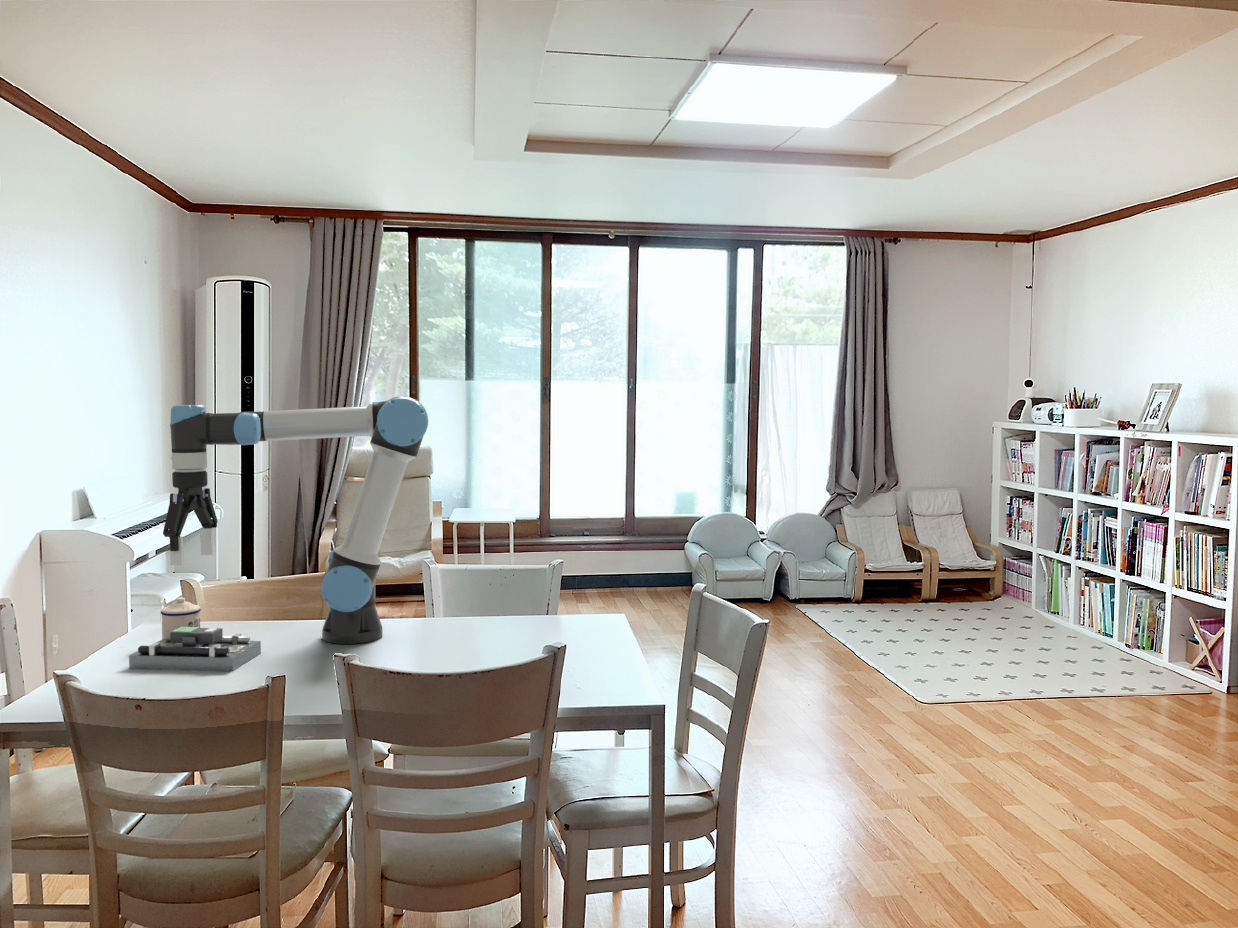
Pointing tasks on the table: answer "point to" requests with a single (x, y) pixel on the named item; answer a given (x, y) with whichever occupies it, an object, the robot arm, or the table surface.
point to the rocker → (197, 634)
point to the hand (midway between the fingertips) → (192, 559)
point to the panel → (196, 659)
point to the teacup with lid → (179, 616)
